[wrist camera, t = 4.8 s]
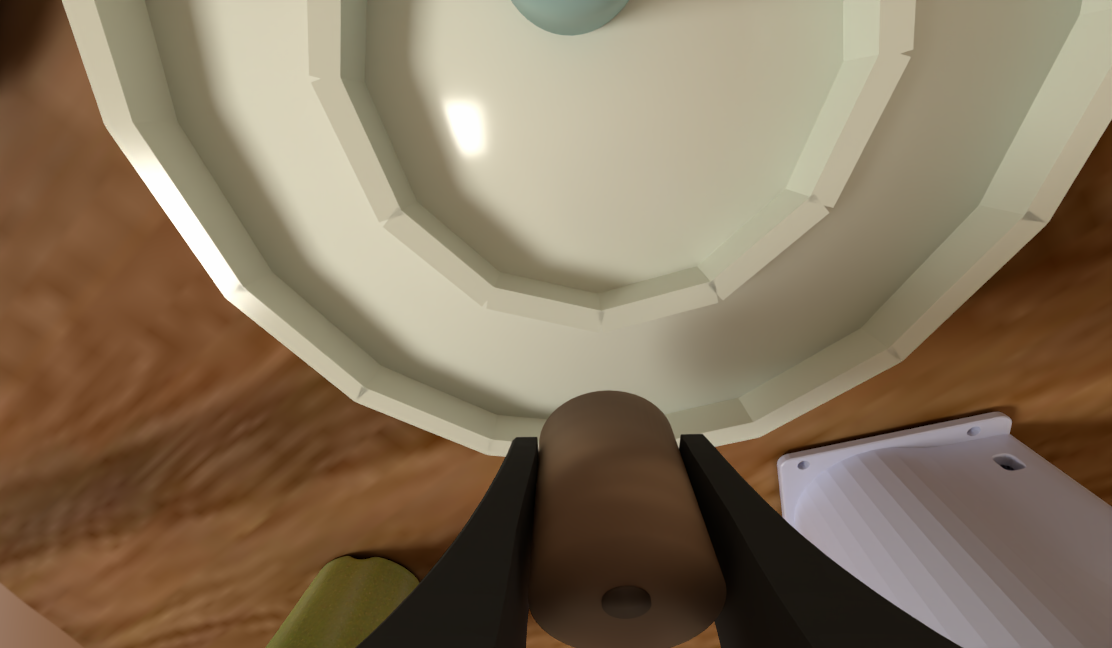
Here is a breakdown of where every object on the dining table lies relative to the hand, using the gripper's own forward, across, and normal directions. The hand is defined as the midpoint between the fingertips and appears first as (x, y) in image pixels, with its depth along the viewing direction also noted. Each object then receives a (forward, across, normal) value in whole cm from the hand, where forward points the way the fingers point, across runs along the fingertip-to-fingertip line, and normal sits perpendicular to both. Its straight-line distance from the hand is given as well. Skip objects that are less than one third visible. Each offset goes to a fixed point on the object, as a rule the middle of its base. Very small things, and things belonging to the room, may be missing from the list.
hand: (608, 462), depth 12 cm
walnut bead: (+1, 0, 0) cm, 1 cm away
